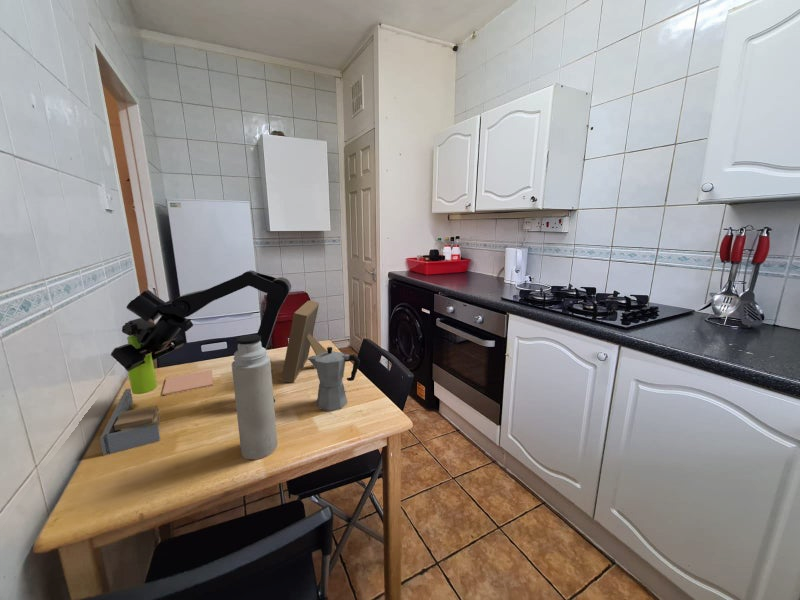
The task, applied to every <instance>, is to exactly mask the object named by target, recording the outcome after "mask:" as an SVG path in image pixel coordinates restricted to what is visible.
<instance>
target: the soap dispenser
mask: <svg viewBox="0 0 800 600" xmlns="http://www.w3.org/2000/svg"><path fill="white" fill-rule="evenodd" d="M137 338H138V337H136V336H134V335H130V336H129V335H127V338H126V339H127V344H132V345H133V346H134V347H135V348H136V349H138V348H141V347H140V345H141V344H142V343H139V342H138V341H137ZM141 354H142V353H141ZM145 356H146V357H145V358H144V361H145V363H144V364H142V365H140V366H138V367H136V368H134V369H132V370H130V371H127V374H128V378H129V383H130V389H131V394H133V395H143V394H147V393H150V392H152V391H154V390H156V389H157V388H158V383H157V378H156V373H155V366H154V362H153V361H154V360H152V355H151V353H150V354H148V355H145Z"/></svg>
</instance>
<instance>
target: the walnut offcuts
mask: <svg viewBox="0 0 800 600" xmlns="http://www.w3.org/2000/svg"><path fill="white" fill-rule="evenodd" d="M158 411H159V408H158V405H153V406H146V407H142V408H136V409H132V410H131V409H130V410H129V411H126V412H122V414H121V415H120V417H119V418H118V420H117V421H116V423H115V424H114V430H115V431H116V430H119V431H123V430H127V429H131V428H136V427H140V426H144V425H148V424H153V423H157V422H158V427H160V422H161V417H162V416H161V412H158Z"/></svg>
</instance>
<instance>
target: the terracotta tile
mask: <svg viewBox="0 0 800 600" xmlns="http://www.w3.org/2000/svg"><path fill="white" fill-rule="evenodd" d="M213 381H214V380H213V370H212V369H208V370H202V371H197V372H196V371H195V372H191V373H186V374H181V375H176V376H175V375H174V376H170V377H166V378H165V382H164V387H163V390H162V394H161V396H162V397H163V395H165V396H168V394H169V395H173V394H172V393H174V394H178V393H177V392H179V393H183V392H182V391H184V392H188V391H187V390H189V391H193V390H192V389H194V390H197V388H199V389H203V388H202V387H204V388H208V387H213V386H212V385H214V384H213ZM207 386H208V387H207Z"/></svg>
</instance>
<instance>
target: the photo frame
mask: <svg viewBox="0 0 800 600" xmlns="http://www.w3.org/2000/svg"><path fill="white" fill-rule="evenodd" d="M319 305H320V302H316V301H313V300H307V301H306V302H305V303H303V304H302V305H301V306H300V307H299V308H298V309H297V310H296V311H295V312H293V317H292V322H291V328H290V331H289V338H288V342H287V346H286V353H285V356H284V357H285V358H284V363H283V369H282V372H281V378H280V381H282V382H286V383H287V382H288V383H292V384H294V383H295V381H296V380H297V378H298V376H299V374H300V373H301V372H302V369H303V368H304V366H305V364H306V363H307V361H309V360H308V358H309V355H310V354H309V353H310V349H312V350H313V352H314V355H319V354H320V353H325V352H328V351H327V348H325V347H324V346H323V345H322V344H321V343H320V342H319V341H318V340H317V339H316V338H315V337H314V336H313V335H314V330H315V325H316V321H317V315H318V311H319Z"/></svg>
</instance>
